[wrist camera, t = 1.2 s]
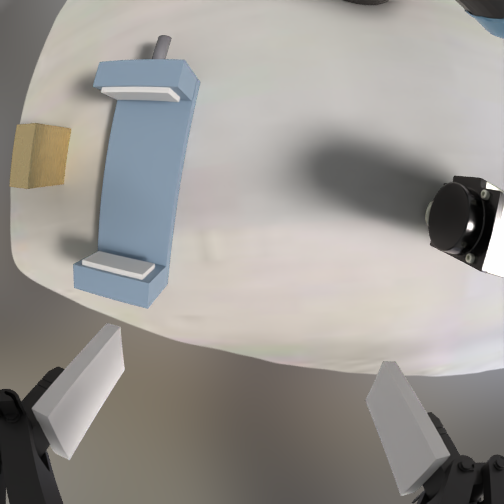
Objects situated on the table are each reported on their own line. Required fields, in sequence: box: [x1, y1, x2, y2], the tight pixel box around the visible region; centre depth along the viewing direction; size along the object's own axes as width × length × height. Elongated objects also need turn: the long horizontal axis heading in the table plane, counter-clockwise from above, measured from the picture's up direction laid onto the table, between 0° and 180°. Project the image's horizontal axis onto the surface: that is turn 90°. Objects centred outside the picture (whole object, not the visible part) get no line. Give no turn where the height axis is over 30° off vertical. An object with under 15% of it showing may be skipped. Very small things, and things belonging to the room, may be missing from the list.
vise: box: [73, 79, 200, 309], centre depth 30 cm, size 26×10×8 cm, turn 169°
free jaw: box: [93, 35, 197, 102], centre depth 25 cm, size 9×10×6 cm
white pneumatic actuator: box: [425, 176, 504, 278], centre depth 25 cm, size 18×8×18 cm, turn 79°
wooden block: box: [10, 123, 71, 189], centre depth 29 cm, size 8×4×8 cm, turn 169°
